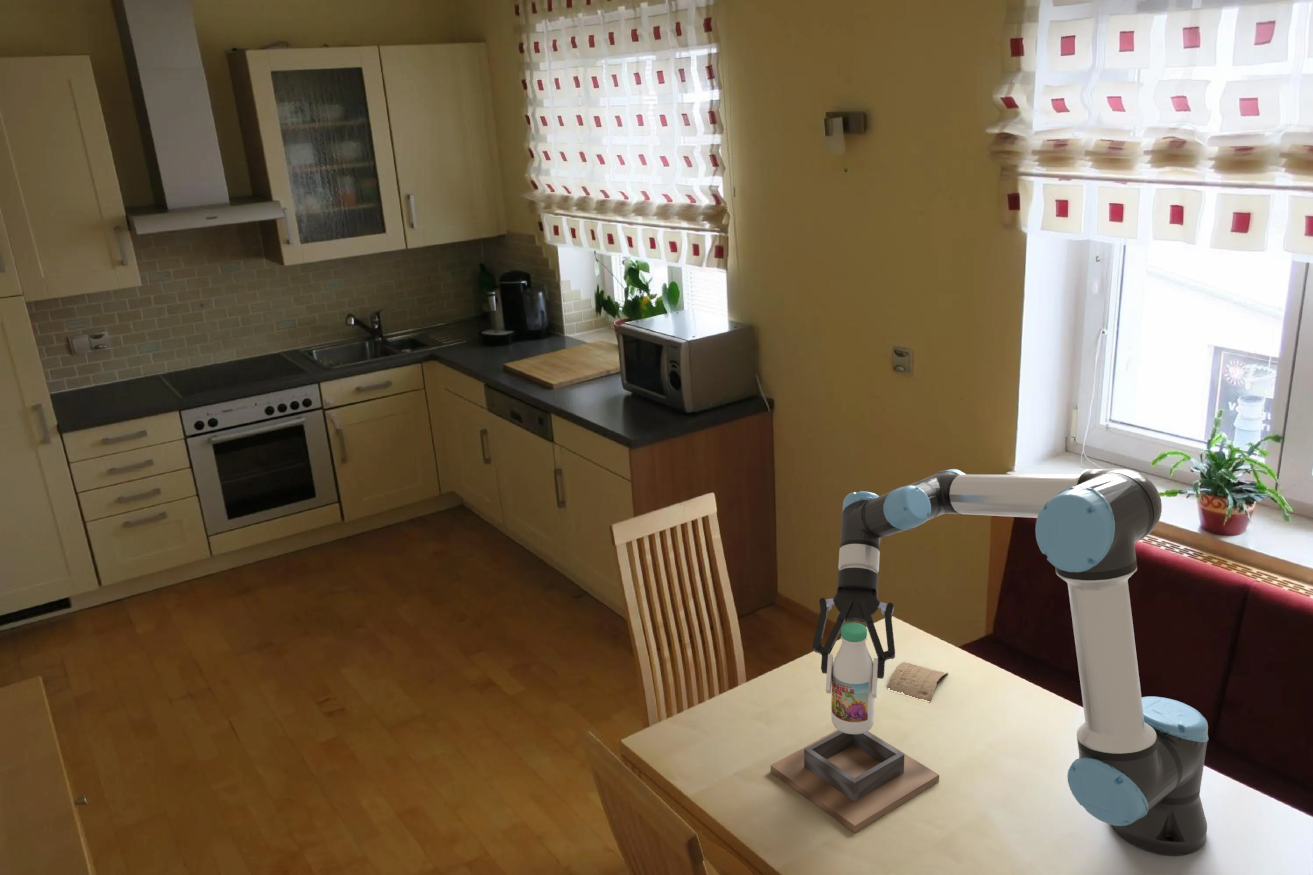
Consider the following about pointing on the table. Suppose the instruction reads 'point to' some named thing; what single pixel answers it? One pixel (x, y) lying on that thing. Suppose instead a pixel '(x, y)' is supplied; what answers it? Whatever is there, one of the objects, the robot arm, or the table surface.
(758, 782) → the table surface
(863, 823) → the bottle stand
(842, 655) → the milk bottle
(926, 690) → the clay tablet
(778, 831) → the table surface
